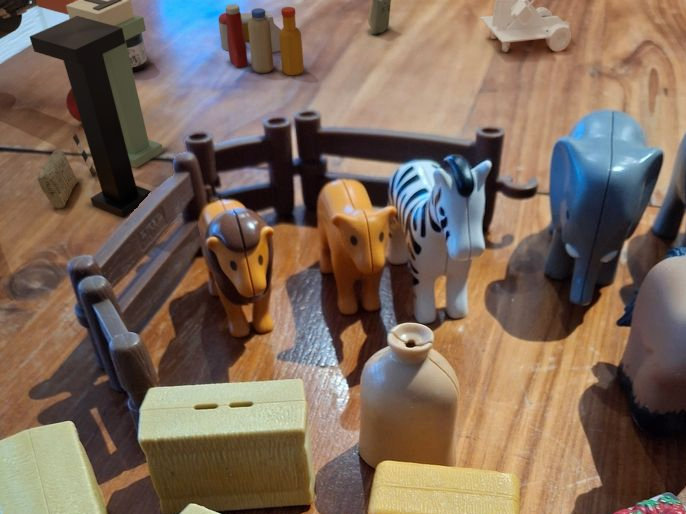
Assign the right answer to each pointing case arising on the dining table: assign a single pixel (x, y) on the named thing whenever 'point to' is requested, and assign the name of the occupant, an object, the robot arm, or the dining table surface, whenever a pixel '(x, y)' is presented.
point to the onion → (72, 106)
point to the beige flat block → (92, 9)
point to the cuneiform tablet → (60, 176)
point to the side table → (129, 97)
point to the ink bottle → (137, 52)
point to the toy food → (261, 39)
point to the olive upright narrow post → (379, 16)
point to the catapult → (526, 24)
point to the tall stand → (95, 105)
